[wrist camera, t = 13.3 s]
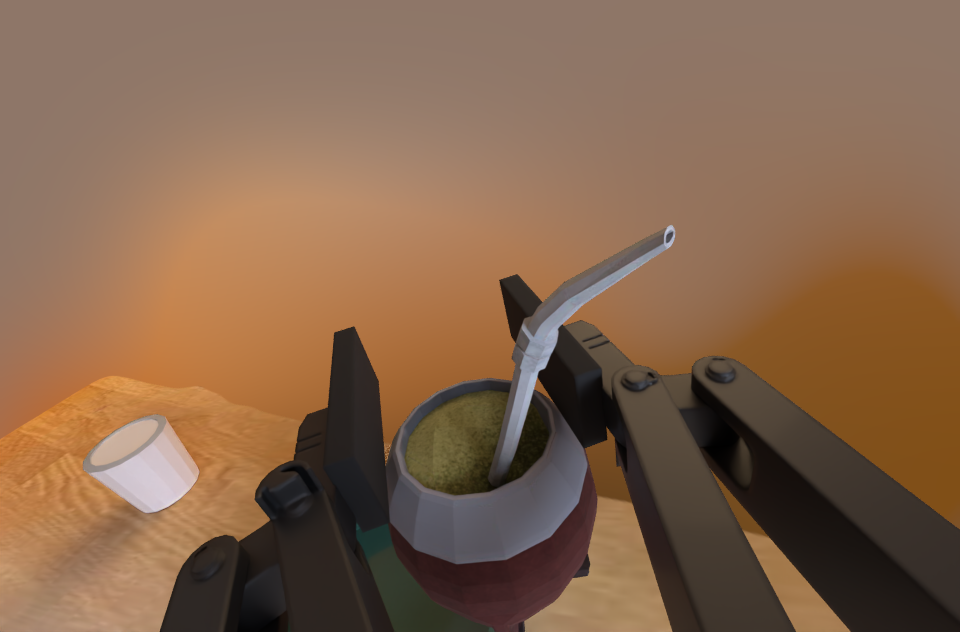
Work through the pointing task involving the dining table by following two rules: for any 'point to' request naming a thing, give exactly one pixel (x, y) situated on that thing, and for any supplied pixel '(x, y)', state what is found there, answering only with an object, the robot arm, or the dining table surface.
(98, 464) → the white cylinder
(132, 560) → the dining table surface
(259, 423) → the dining table surface
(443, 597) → the mate gourd
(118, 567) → the dining table surface
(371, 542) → the green round tray
